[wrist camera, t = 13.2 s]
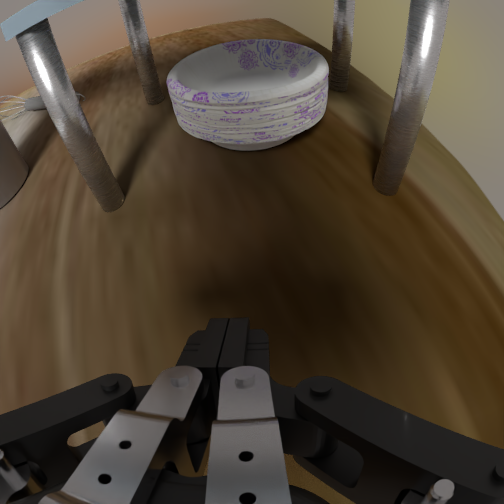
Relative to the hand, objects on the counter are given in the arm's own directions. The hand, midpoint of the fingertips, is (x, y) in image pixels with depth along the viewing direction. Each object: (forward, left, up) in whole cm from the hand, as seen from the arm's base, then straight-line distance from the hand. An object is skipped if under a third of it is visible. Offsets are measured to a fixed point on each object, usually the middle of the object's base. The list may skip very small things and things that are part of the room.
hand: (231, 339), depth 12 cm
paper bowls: (-12, +21, -7) cm, 25 cm away
